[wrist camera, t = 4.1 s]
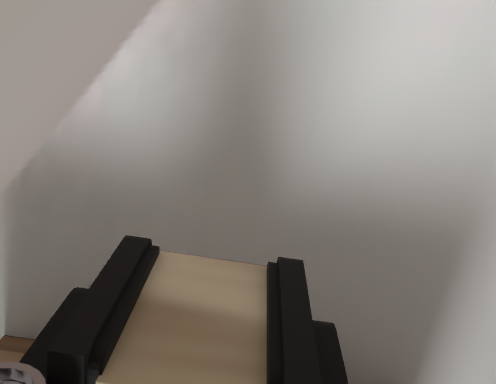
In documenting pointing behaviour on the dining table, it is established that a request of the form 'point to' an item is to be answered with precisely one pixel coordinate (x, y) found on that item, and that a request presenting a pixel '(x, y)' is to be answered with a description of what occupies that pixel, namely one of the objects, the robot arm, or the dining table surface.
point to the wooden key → (195, 325)
